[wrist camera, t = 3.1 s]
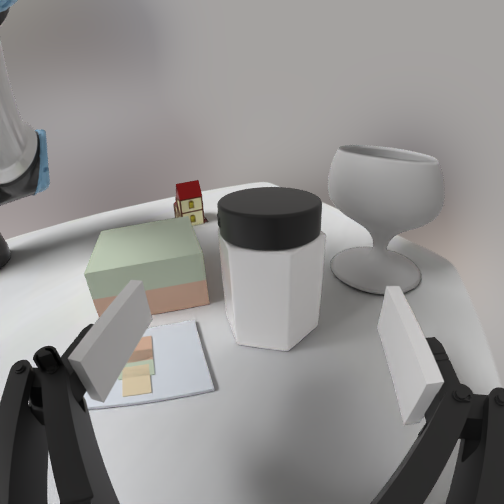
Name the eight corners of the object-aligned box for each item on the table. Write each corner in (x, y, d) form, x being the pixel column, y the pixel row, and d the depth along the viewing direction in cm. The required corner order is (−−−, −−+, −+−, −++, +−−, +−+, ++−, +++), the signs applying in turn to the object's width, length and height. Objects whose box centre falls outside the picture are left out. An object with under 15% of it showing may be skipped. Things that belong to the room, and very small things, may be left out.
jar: (269, 287, 34) (267, 181, 28) (331, 315, 28) (343, 196, 23) (207, 325, 28) (191, 203, 23) (271, 368, 23) (271, 226, 18)
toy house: (188, 231, 51) (182, 186, 48) (168, 224, 56) (162, 183, 52) (213, 222, 55) (209, 179, 52) (191, 216, 59) (187, 176, 56)
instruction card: (81, 340, 25) (80, 337, 25) (194, 321, 29) (194, 318, 28) (70, 410, 18) (68, 407, 17) (214, 390, 21) (214, 387, 21)
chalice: (402, 318, 27) (431, 168, 20) (300, 272, 37) (302, 147, 30) (438, 268, 35) (457, 160, 29) (357, 239, 45) (363, 142, 38)
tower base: (111, 271, 38) (101, 231, 36) (193, 256, 42) (188, 215, 39) (101, 323, 28) (84, 273, 25) (209, 304, 31) (202, 252, 29)
